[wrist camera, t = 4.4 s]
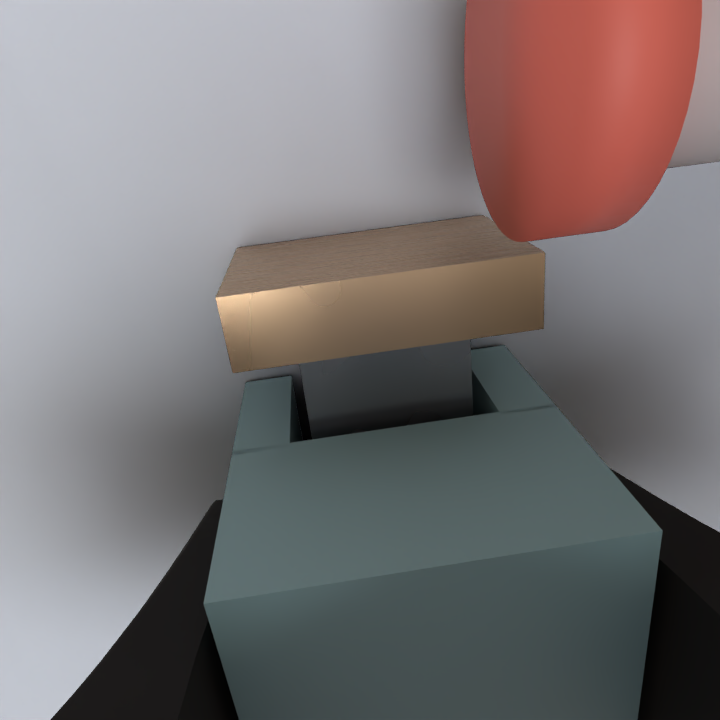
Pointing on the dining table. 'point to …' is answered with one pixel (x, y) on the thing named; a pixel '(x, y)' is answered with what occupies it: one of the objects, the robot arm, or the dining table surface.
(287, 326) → the rail
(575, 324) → the dining table surface
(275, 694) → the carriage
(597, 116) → the plunger
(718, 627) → the robot arm
